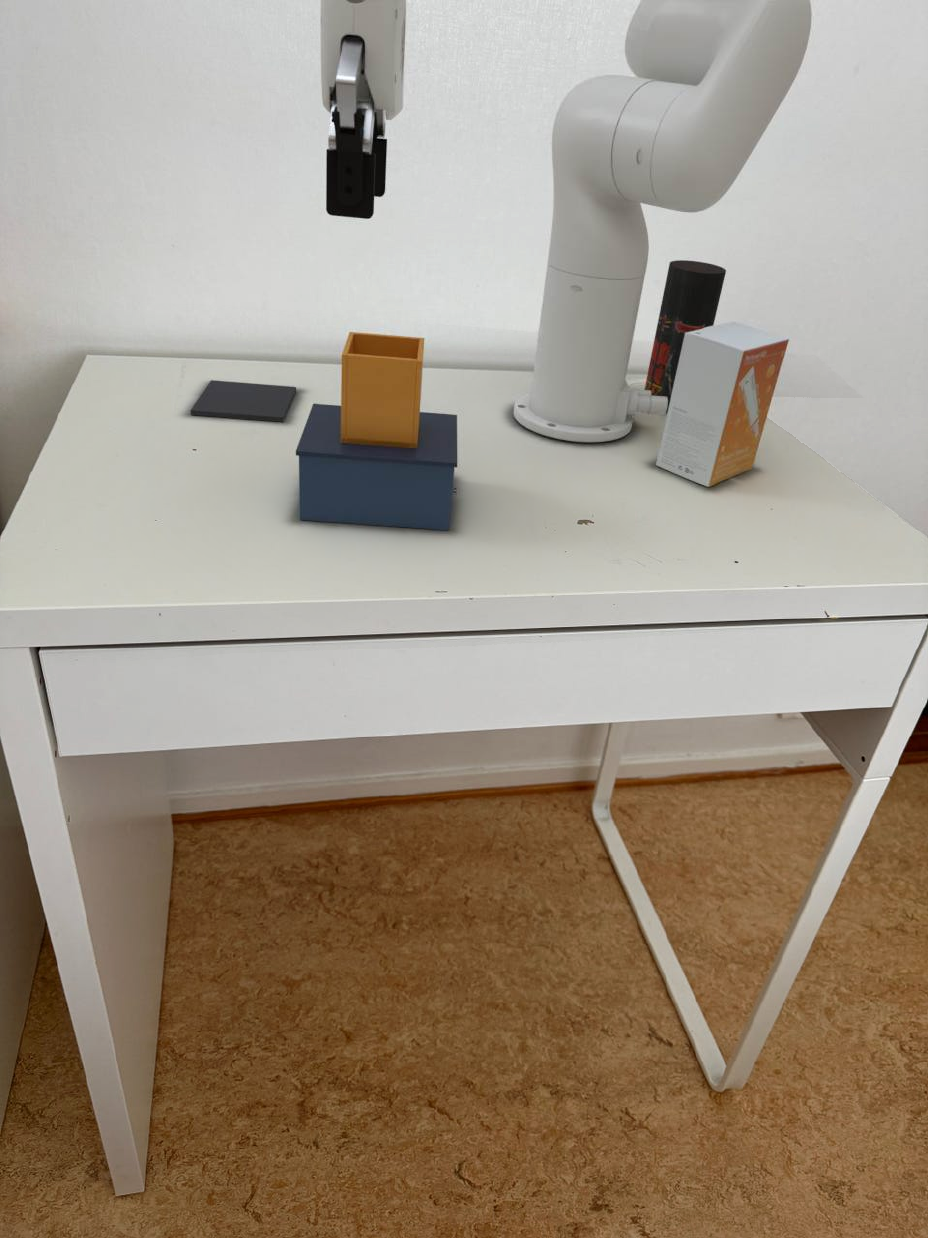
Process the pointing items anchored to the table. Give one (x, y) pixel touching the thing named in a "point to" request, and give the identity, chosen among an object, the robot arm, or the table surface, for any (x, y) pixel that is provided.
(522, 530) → the table surface
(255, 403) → the rubber mat
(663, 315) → the deodorant
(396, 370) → the amber container
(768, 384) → the small box
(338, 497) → the storage tub
